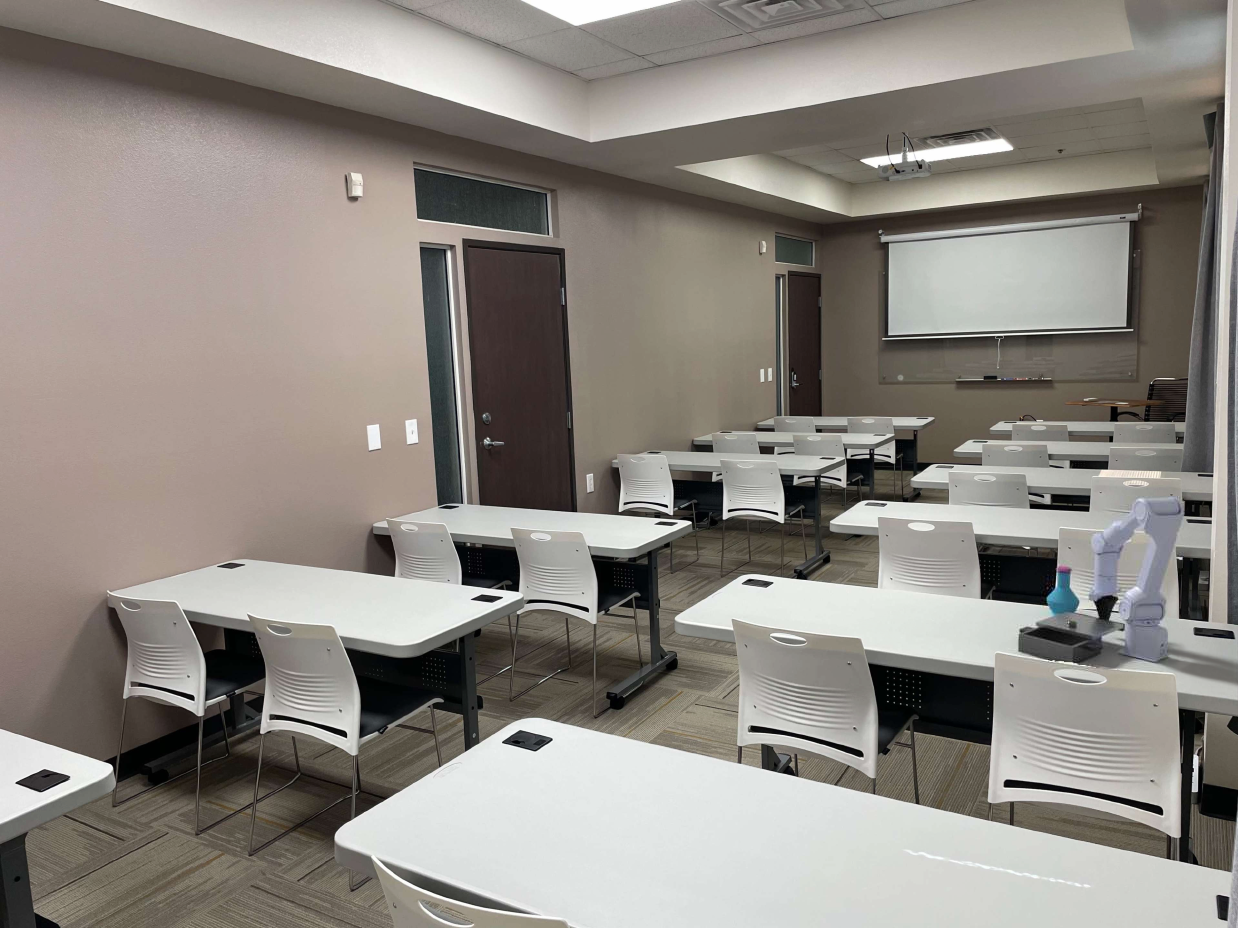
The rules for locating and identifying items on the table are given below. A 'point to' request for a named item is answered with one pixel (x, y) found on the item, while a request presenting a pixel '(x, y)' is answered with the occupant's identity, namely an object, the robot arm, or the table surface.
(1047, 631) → the dark grey box
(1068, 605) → the perfume bottle
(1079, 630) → the cooker lid
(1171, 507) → the robot arm
